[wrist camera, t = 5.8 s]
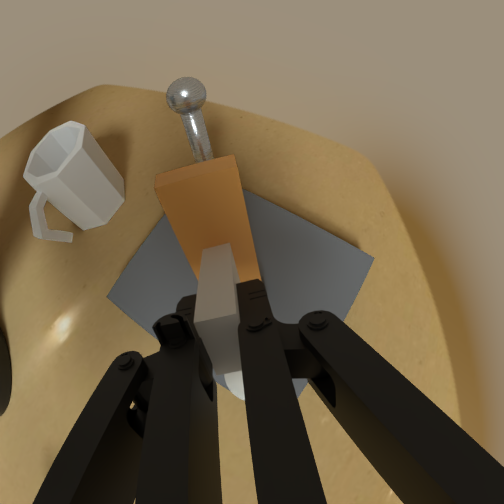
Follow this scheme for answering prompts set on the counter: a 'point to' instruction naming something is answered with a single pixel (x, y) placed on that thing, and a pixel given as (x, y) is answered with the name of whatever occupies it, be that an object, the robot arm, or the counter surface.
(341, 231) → the counter surface
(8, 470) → the counter surface
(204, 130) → the toggle lever
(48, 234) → the mug
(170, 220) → the paddle switch
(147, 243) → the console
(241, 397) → the push button
